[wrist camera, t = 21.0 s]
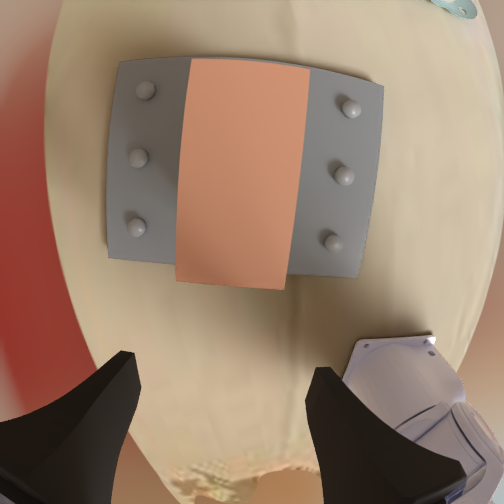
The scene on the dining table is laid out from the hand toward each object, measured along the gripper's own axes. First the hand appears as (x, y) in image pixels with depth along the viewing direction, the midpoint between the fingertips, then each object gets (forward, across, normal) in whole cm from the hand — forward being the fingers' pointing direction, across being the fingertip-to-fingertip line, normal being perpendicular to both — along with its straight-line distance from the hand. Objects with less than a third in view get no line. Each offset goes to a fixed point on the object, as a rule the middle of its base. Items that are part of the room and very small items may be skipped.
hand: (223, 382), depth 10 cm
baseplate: (+10, 0, -8) cm, 13 cm away
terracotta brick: (+5, 0, -8) cm, 9 cm away
